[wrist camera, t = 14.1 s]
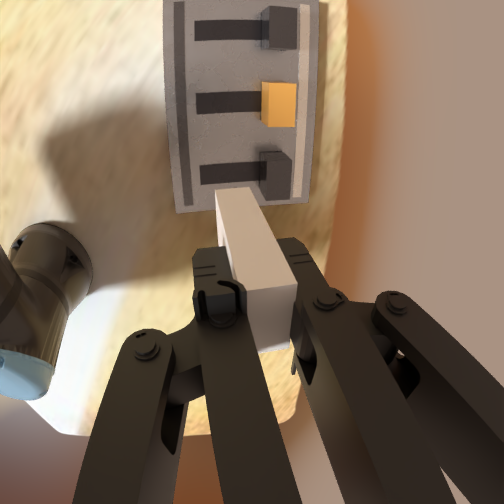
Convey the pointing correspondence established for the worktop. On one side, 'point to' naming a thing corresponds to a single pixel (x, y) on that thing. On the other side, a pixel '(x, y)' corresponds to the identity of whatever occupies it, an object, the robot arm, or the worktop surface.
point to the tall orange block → (278, 104)
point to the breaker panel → (238, 98)
